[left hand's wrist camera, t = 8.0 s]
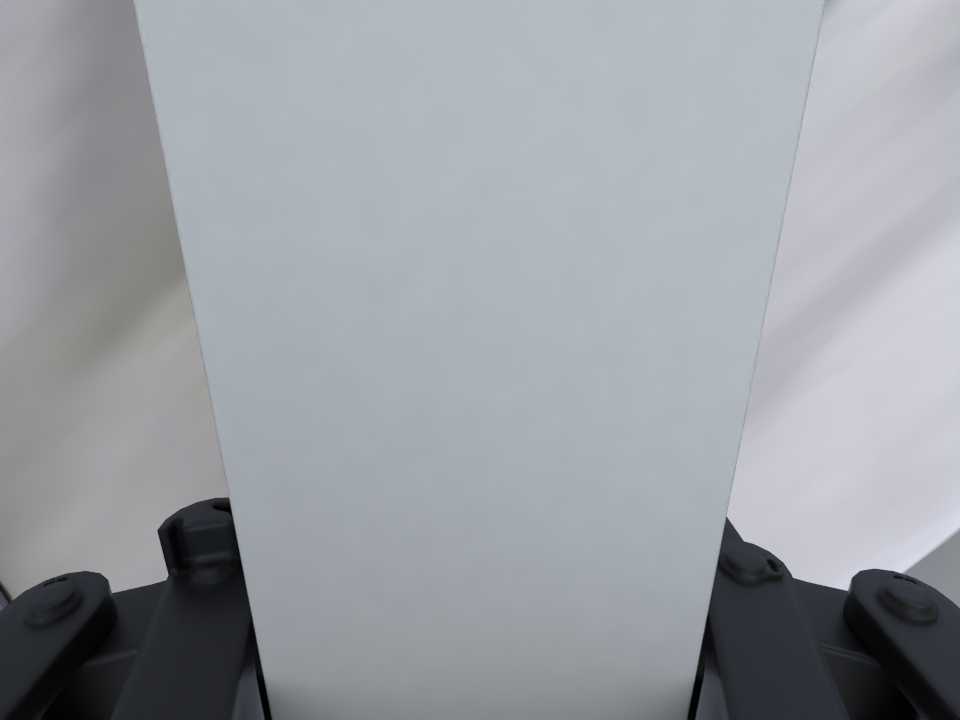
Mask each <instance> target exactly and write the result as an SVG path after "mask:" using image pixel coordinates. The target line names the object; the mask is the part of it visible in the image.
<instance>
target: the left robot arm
mask: <svg viewBox="0 0 960 720" xmlns="http://www.w3.org/2000/svg"><path fill="white" fill-rule="evenodd" d="M157 531H158V535H159V539H160V543H161V547H162V551H163V555H164V559H165V562H166V566H167V570H168V574H169V576H168V578H167V580H166V581H162V582H159V583H156V584H152V585H148V586H143V587H139V588H134V589H130V590H125V591H121V592H116V593H112V591H111V588H110V585H109V581H108V580H107V579H106V578H105V577H104V576H103V575H101V574H100V573H95V572H89V571H82V572H75V573H67V574H64V575H61V576H57V577H54V578H51V579H49V580H46V581H44V582H42V583H40V584H38V585H36V586H34V587H32V588H30V589H28V590H26V591H25V592H23V593H22V594H21V595H19V596H18V597H17V598H16V599H14V600H13V601H12V602H10V603H9V604H8V602H7V600H6V598H5V597H4V595H3V594H2V592H1V591H0V720H272V717H271V711H270V706H269V701H268V696H267V691H266V686H265V680H264V675H263V670H262V665H261V660H260V655H259V649H258V644H257V639H256V634H255V629H254V623H253V618H252V613H251V608H250V603H249V598H248V592H247V587H246V582H245V577H244V572H243V566H242V561H241V556H240V551H239V546H238V541H237V535H236V530H235V525H234V520H233V515H232V509H231V504H230V499H229V498H214V499H209V500H205V501H201V502H197V503H194V504H192V505H190V506H187V507H185V508H183V509H180V510H179V511H177V512H176V513H175V514H173V515H172V516H170V517H169V518H167V519H166V520H165V521H164V523H163V524H162V525H161V526H160V528H159V529H158V530H157ZM687 720H960V608H959V607H958V606H957V605H955V604H954V603H953V602H952V601H951V600H949V599H948V598H947V597H946V596H944V595H943V594H941V593H940V592H939V591H938V590H936V589H935V588H933V587H931V586H929V585H927V584H925V583H923V582H921V581H919V580H917V579H915V578H913V577H910V576H907V575H904V574H901V573H898V572H894V571H888V570H881V569H870V570H863V571H860V572H858V573H857V574H856V575H855V576H854V577H852V580H851V583H850V587H849V590H848V591H845V590H840V589H836V588H831V587H827V586H822V585H818V584H813V583H809V582H805V581H802V580H798V579H795V578H793V577H792V575H791V573H790V572H789V570H788V569H787V567H786V566H785V564H784V563H783V562H782V561H781V560H779V559H778V558H777V557H776V556H774V555H773V554H772V553H771V552H769V551H767V550H765V549H763V548H761V547H759V546H757V545H754V544H751V543H748V542H744V541H743V540H742V538H741V537H740V535H739V534H738V532H737V531H736V529H735V528H734V527H733V525H732V524H731V522H730V521H729V519H728V518H727V517H726V520H725V525H724V531H723V536H722V541H721V546H720V551H719V556H718V562H717V567H716V572H715V577H714V582H713V588H712V593H711V598H710V603H709V608H708V614H707V619H706V624H705V629H704V634H703V640H702V645H701V650H700V655H699V660H698V666H697V671H696V676H695V681H694V686H693V692H692V697H691V702H690V707H689V712H688V717H687Z"/></svg>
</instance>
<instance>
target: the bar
mask: <svg viewBox="0 0 960 720" xmlns="http://www.w3.org/2000/svg"><path fill="white" fill-rule="evenodd" d="M825 1H826V0H133V2H134V7H135V12H136V17H137V23H138V28H139V33H140V38H141V43H142V48H143V54H144V59H145V64H146V69H147V74H148V80H149V85H150V90H151V95H152V100H153V105H154V111H155V116H156V121H157V126H158V131H159V136H160V142H161V147H162V152H163V157H164V162H165V168H166V173H167V178H168V183H169V188H170V193H171V199H172V204H173V209H174V214H175V219H176V225H177V230H178V235H179V240H180V245H181V250H182V256H183V261H184V266H185V271H186V276H187V282H188V287H189V292H190V297H191V302H192V307H193V313H194V318H195V323H196V328H197V333H198V339H199V344H200V349H201V354H202V359H203V364H204V370H205V375H206V380H207V385H208V390H209V395H210V401H211V406H212V411H213V416H214V421H215V427H216V432H217V437H218V442H219V447H220V452H221V458H222V463H223V468H224V473H225V478H226V484H227V489H228V494H229V499H230V504H231V509H232V515H233V520H234V525H235V530H236V535H237V541H238V546H239V551H240V556H241V561H242V566H243V572H244V577H245V582H246V587H247V592H248V598H249V603H250V608H251V613H252V618H253V623H254V629H255V634H256V639H257V644H258V649H259V655H260V660H261V665H262V670H263V675H264V680H265V686H266V691H267V696H268V701H269V706H270V711H271V717H272V720H687V717H688V712H689V707H690V702H691V697H692V692H693V686H694V681H695V676H696V671H697V666H698V660H699V655H700V650H701V645H702V640H703V634H704V629H705V624H706V619H707V614H708V608H709V603H710V598H711V593H712V588H713V582H714V577H715V572H716V567H717V562H718V556H719V551H720V546H721V541H722V536H723V531H724V525H725V520H726V515H727V510H728V505H729V499H730V494H731V489H732V484H733V479H734V473H735V468H736V463H737V458H738V453H739V447H740V442H741V437H742V432H743V427H744V421H745V416H746V411H747V406H748V401H749V395H750V390H751V385H752V380H753V375H754V370H755V364H756V359H757V354H758V349H759V344H760V338H761V333H762V328H763V323H764V318H765V312H766V307H767V302H768V297H769V292H770V286H771V281H772V276H773V271H774V266H775V260H776V255H777V250H778V245H779V240H780V235H781V229H782V224H783V219H784V214H785V209H786V203H787V198H788V193H789V188H790V183H791V177H792V172H793V167H794V162H795V157H796V151H797V146H798V141H799V136H800V131H801V125H802V120H803V115H804V110H805V105H806V99H807V94H808V89H809V84H810V79H811V74H812V68H813V63H814V58H815V53H816V48H817V42H818V37H819V32H820V27H821V22H822V16H823V11H824V6H825Z"/></svg>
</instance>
